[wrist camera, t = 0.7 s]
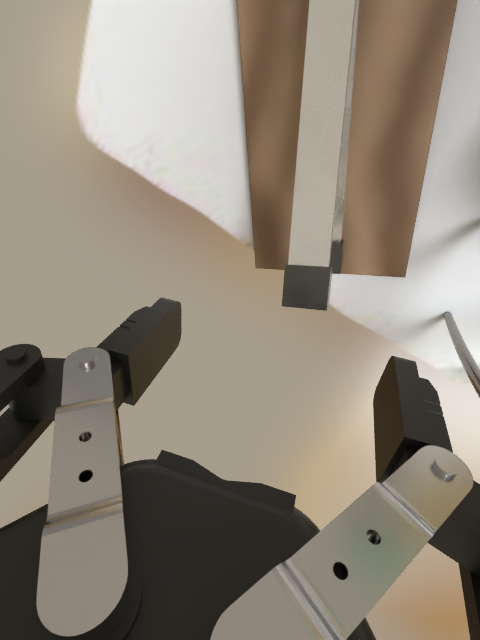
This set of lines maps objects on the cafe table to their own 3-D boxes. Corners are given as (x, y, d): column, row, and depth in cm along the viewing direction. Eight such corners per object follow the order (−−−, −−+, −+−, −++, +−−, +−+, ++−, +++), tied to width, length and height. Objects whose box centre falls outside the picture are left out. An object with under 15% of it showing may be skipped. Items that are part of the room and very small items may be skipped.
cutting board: (481, -146, 21) (487, -159, 20) (404, 271, 36) (404, 277, 35) (238, -76, 26) (231, -83, 25) (259, 262, 41) (255, 268, 40)
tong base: (375, -103, 22) (374, -123, 20) (344, 268, 37) (341, 280, 34) (313, -86, 24) (306, -103, 21) (307, 266, 38) (302, 277, 36)
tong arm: (372, -51, 22) (373, -70, 21) (334, 309, 26) (333, 311, 25) (305, -36, 24) (302, -53, 23) (279, 304, 28) (275, 305, 27)
